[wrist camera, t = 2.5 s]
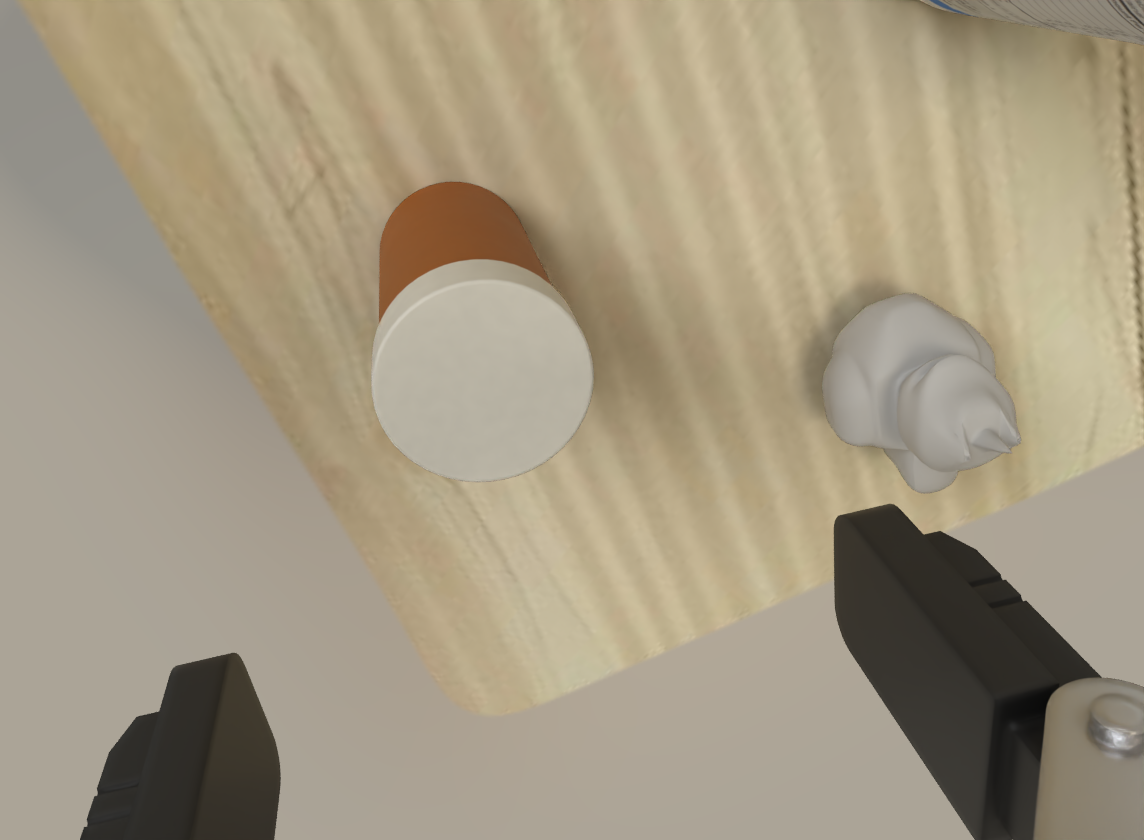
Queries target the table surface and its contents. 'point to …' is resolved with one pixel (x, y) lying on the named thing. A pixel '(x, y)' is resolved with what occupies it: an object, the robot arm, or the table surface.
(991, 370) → the grey figurine
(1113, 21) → the supplement tub
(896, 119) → the table surface
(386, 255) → the pill bottle
